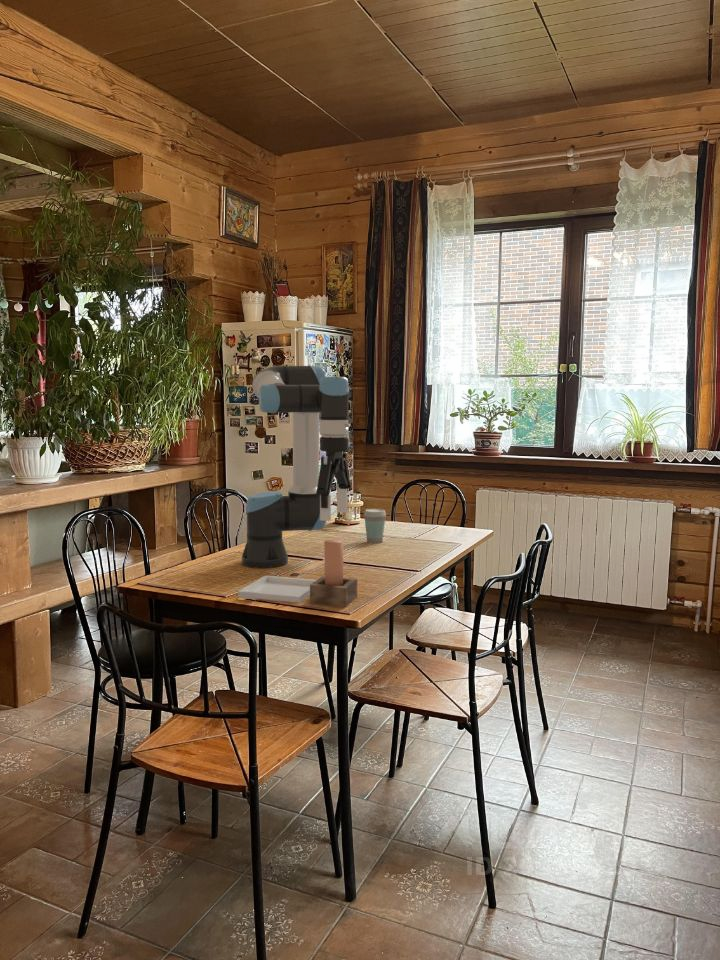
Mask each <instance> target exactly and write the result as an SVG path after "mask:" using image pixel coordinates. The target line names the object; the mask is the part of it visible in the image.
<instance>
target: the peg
mask: <svg viewBox="0 0 720 960" xmlns="http://www.w3.org/2000/svg"><path fill="white" fill-rule="evenodd" d="M323 544H324V547H323V549H324V555H323V556H324V558H323V559H324V576H325V585H333V586H343V578H344V541H343V540H341V539H327V540H324V543H323Z"/></svg>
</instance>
